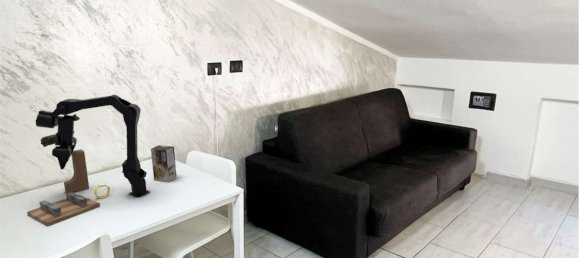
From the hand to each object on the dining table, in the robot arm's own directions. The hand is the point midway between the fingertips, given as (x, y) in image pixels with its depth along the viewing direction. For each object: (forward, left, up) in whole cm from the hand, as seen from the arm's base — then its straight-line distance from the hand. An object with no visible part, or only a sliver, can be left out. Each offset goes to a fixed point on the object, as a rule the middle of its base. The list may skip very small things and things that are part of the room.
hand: (64, 165), depth 160 cm
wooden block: (+5, -6, -15) cm, 17 cm away
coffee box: (-17, -37, -15) cm, 44 cm away
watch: (-12, -8, -15) cm, 21 cm away
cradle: (-12, +8, -15) cm, 20 cm away
